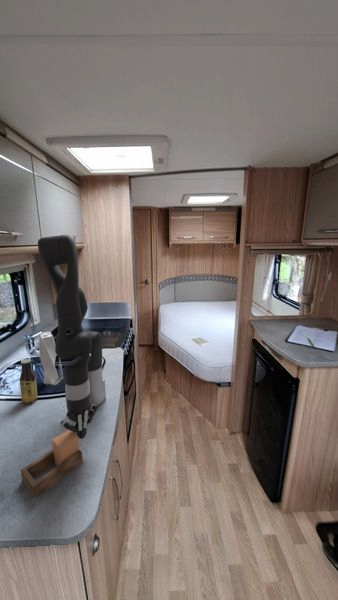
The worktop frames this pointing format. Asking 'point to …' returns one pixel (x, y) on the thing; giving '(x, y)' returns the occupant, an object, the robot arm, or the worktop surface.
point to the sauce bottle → (28, 383)
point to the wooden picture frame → (53, 475)
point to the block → (65, 446)
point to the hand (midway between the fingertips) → (81, 436)
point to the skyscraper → (49, 359)
